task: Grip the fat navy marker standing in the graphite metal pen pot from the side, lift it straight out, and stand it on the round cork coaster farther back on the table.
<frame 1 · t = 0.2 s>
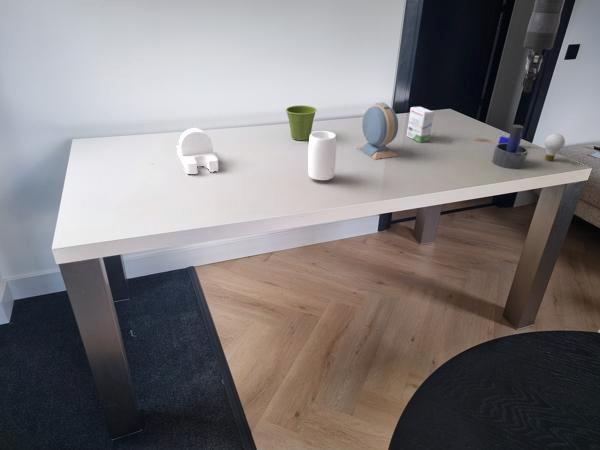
hand: (526, 89, 128), 27 cm above the table, tool pointing down, fingers open, 8 cm apart
light bulb: (548, 162, 151), on the table
plant pot: (300, 138, 168), on the table
coaster: (482, 142, 168), on the table
pen pot: (507, 164, 148), on the table
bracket: (197, 163, 144), on the table
cup: (320, 179, 135), on the table
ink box: (417, 139, 170), on the table
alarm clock: (376, 152, 156), on the table
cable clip: (505, 150, 161), on the table
marker: (507, 163, 148), point 1 cm above the table, touching pen pot
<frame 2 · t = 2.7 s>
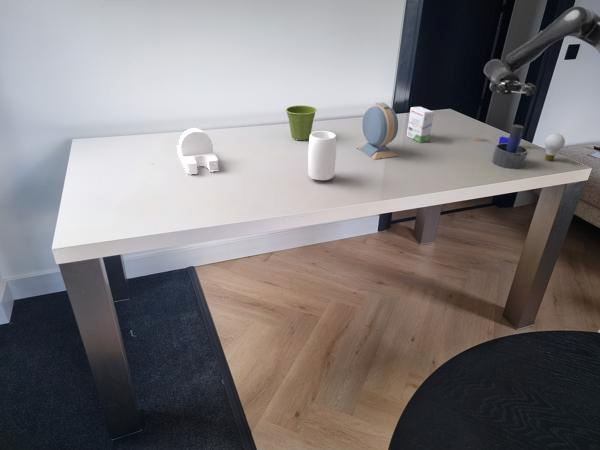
hand: (516, 92, 146), 22 cm above the table, tool horizontal, fingers open, 8 cm apart
nothing on the table moved.
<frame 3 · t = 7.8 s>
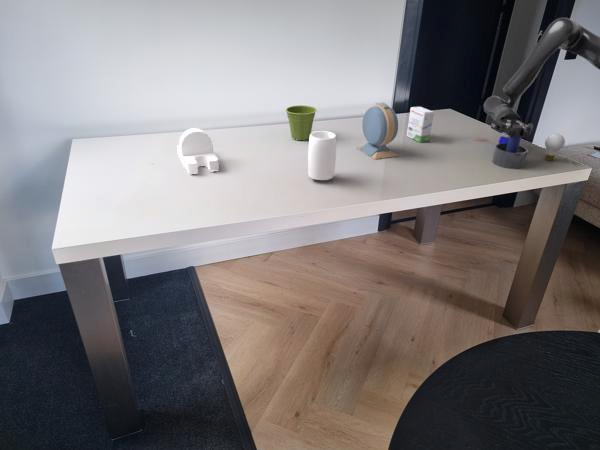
hand: (518, 134, 140), 12 cm above the table, tool horizontal, fingers closed on marker, 3 cm apart
marker: (507, 163, 148), point 1 cm above the table, touching gripper, pen pot
everything else where it was.
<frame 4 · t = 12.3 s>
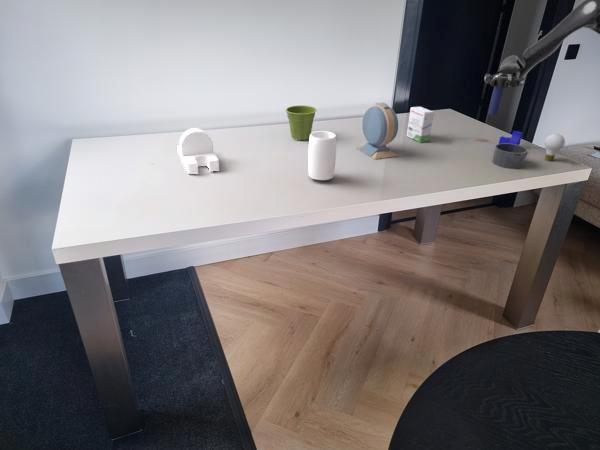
hand: (499, 84, 148), 24 cm above the table, tool horizontal, fingers closed on marker, 3 cm apart
marker: (492, 114, 156), point 13 cm above the table, touching gripper
everything else where it was.
when the fingers open (12 cm above the table, at t = 17.0 s): marker stays where it is, resting on coaster.
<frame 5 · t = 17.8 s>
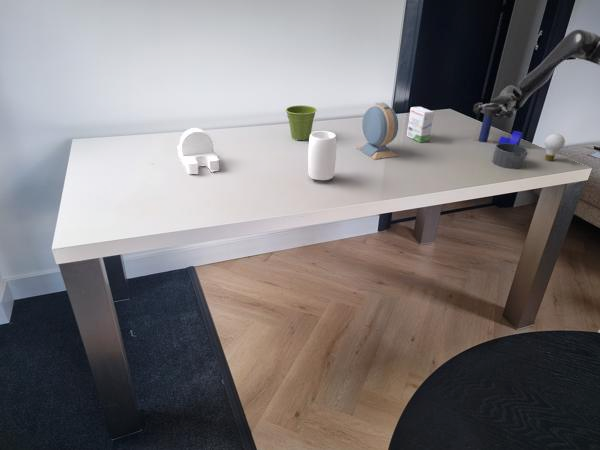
hand: (488, 113, 160), 12 cm above the table, tool horizontal, fingers open, 8 cm apart
marker: (482, 141, 168), resting on coaster
everything else where it was.
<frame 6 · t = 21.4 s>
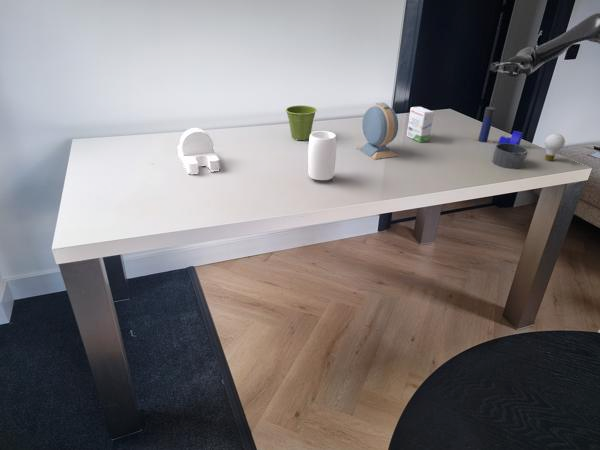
hand: (505, 70, 160), 26 cm above the table, tool horizontal, fingers open, 8 cm apart
nothing on the table moved.
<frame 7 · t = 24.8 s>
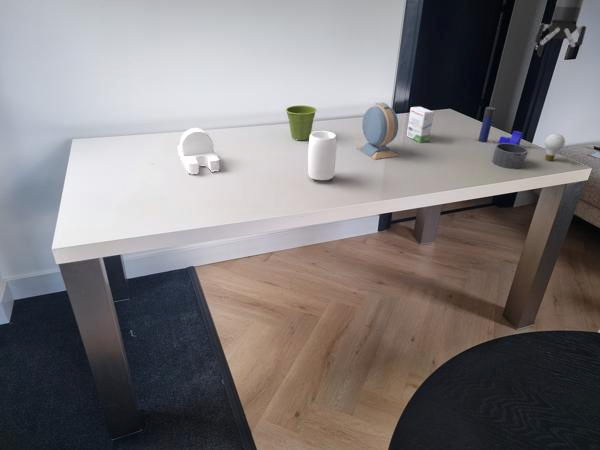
hand: (553, 57, 149), 32 cm above the table, tool pointing down, fingers open, 8 cm apart
nothing on the table moved.
at the end: marker inside the target area on the coaster (0.1 cm from its centre), point 0.4 cm above the coaster's base; the gripper is holding nothing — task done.
